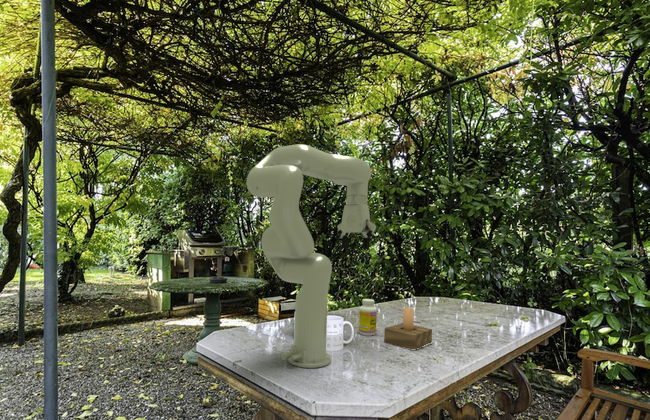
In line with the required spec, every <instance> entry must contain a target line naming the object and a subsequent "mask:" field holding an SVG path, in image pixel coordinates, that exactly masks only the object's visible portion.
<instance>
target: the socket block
mask: <svg viewBox="0 0 650 420" xmlns="http://www.w3.org/2000/svg"><path fill="white" fill-rule="evenodd" d="M383 332H384V335H383V337H384V340H383V344H387V343H389V344H388V345H391V344H392V346H395V345H396V346H395V347H399V346H400V348H403V347H405V348H404V349H406V348H410V349H417V348H420V347H422V346H424V345H426V344H428V343H431V342H432V343H433V329H432V328H427V327H422V326H418V325H414V330H413V331H408V330H403V322H402V323H399V324H394V325H391V326H388V327H384V331H383ZM410 349H409V350H410ZM420 349H421V348H420Z"/></svg>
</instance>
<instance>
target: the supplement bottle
mask: <svg viewBox="0 0 650 420" xmlns="http://www.w3.org/2000/svg"><path fill="white" fill-rule="evenodd" d="M361 303H362V305H361V306H359V313H358V315H359V316H358V317H359V319H358V321H359V322H358V333H359V335H361V336H367V337H371V336H372V335H373V336H375V335H377V321H378V320H377V317H378V316H377V315H378V314H377V312H378V311H377V307H376V306H375V300H374V299H373V298H371V299H370V298H363V299H362V300H361Z"/></svg>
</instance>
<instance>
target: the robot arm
mask: <svg viewBox="0 0 650 420" xmlns="http://www.w3.org/2000/svg"><path fill="white" fill-rule="evenodd" d="M247 174H248V175H247V176H246V188H247V190H248V192H249V193H250V194H251V195H252V196H254V197H256V198H273V200H272V201H273V202H272V204H271V207H270V210H269V215H268V217H269V222H270V225H271V226H269V227H267V228H266V229H265V230H264V231H263V233H262V235H261V250H262V252H263V255H264V256H265V258H266V259H267V261H268V262H269V264H270V266H271V267H272V269H273V270H274V271H275V274H276V275H277V276H278V277H279V279H281V280H282V281H284V282H287V283H293V284H299V285H301V287H300V289H299V291H298V293H297V295H296V296H295V303H294V305H295V307H294V309H295V311H294V329H293V330H294V333H293V335H294V337H293V345H291V347H290V349H289V350H288V351H285V352H282V353H281V354H280V358H281V359H282V361H285V360H287V361H288V363H290V364H291V365H293V366H295V367H299V368H305V369H306V368H308V369H309V368H310V369H315V368H317V369H318V368H322V367H326V366H328V365H329V364H331V362H332V356H331V355H330V354H328V353H326V352H327V327H328V325H327V323H328V296H329V286H330V280H331V277H332V272H333V271H332V270H333V269H332V268H333V266H332V262H331V260H330V258H329V257H327V256H326V255H324V254H322V253H318V252H314V250H315V241H314V239H313V237H312V233H311V232H310V230H309V229H308V226H307V224H306V222H305V220H304V219H303V216H302V214H301V211H300V207H299V206H300V199H301V194H302V191H303V185H304V177H303V175H304V176H307V177H312V178H315V179H319V180H324V181H325V180H327V181H331V182H333V183H334V184H336V185H338V186H346V198H345V200H344V201H345V203H346V204H345V205H344V207H343V212H342V217H341V223H339V224H338V225H337V230H338V233H339V235H340V238H341V249H349V247H350V244H349V243H350V242H349V241H350V237H349V235H350V234H351V233H357V234H358V233H359V234H360V233H361V234H362V236H363V238H362V250H370V247H371V246H370V245H371V239H372V236H373V235H374V233H375V231H376V229H377V225H376V224H375V223H373V222H371V218H370V217H371V215H370V209H369V205H368V188H369V185H368V183H369V181H370V179H371V177H372V169H371V167H370V164H368V162H366V161H365V160H363V159H360V158H358V157H354V156H349V155H342V154H338V153H337V154H335V153H330V152H326V151H323V150H320V149H318V148H316V147H313V146H310V145H307V144H301V143H297V144H292V145H285V146H283V145H282V146H278V147H276V148H274V149H273V150H272V151H270V152H268V154H267V155H265V156H264V157H263V158H262V159H261V160H260V161H259V162H258V163H257V164H255V165H254V167H252V168H251V169H250V171H249V173H247Z"/></svg>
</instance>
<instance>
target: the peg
mask: <svg viewBox="0 0 650 420" xmlns="http://www.w3.org/2000/svg"><path fill="white" fill-rule="evenodd" d="M414 310H415V308H412V307H403V310H402V311H403V313H402V314H403V318H402V319H403V320H402V323H403V330H408V331H413V330H414V326H415V323H414V319H415V315H414V314H415V311H414Z"/></svg>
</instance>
